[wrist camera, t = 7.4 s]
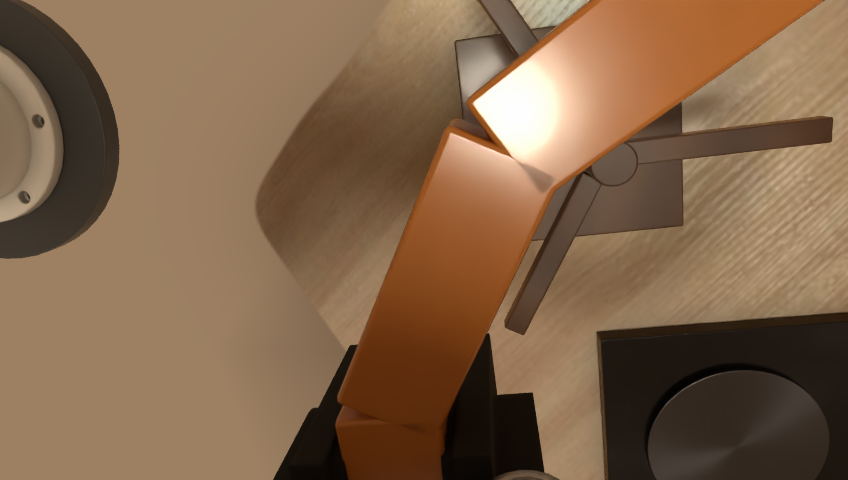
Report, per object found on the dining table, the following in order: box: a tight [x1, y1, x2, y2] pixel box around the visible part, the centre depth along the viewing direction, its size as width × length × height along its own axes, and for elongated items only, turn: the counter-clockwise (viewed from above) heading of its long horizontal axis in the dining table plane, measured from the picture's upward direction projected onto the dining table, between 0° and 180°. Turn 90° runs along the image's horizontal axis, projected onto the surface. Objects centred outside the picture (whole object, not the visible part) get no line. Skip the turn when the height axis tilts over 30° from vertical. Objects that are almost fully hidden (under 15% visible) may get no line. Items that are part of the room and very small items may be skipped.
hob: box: [597, 313, 848, 480], centre depth 37 cm, size 16×16×2 cm
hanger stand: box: [455, 0, 833, 335], centre depth 27 cm, size 15×16×12 cm
